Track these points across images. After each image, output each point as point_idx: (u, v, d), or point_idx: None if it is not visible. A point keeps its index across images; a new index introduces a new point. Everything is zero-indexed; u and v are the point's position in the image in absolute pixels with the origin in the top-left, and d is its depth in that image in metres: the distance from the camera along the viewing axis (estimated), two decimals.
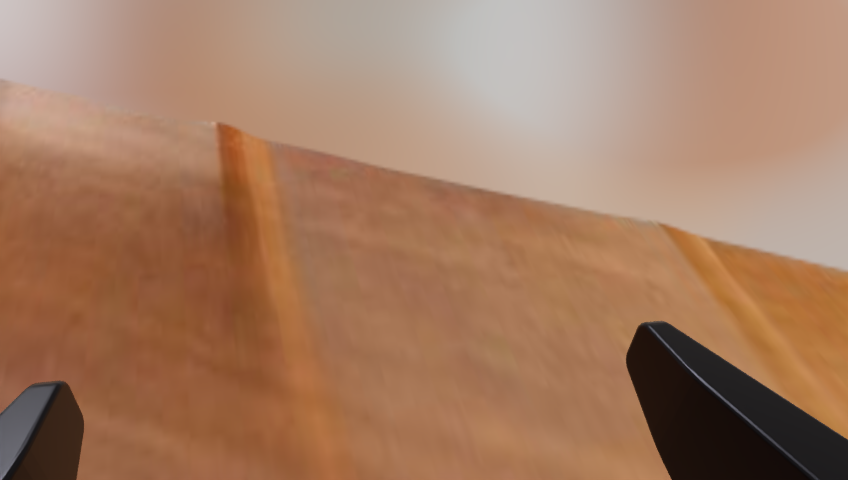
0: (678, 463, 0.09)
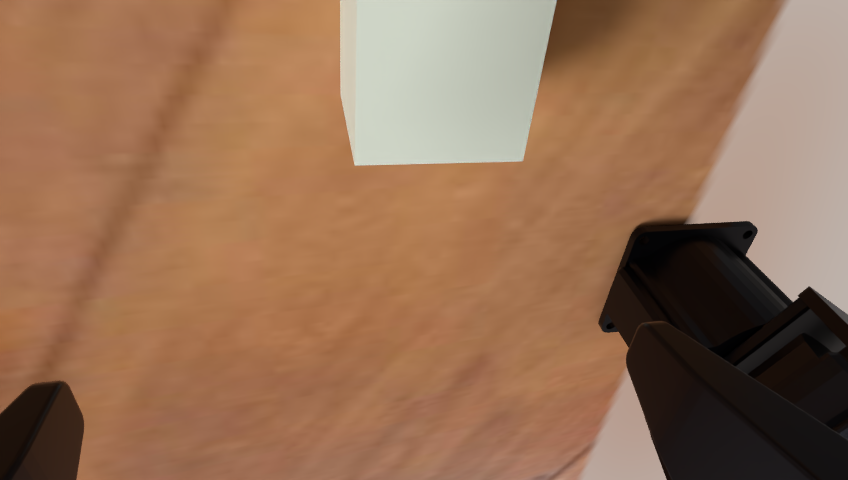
0: (678, 463, 0.09)
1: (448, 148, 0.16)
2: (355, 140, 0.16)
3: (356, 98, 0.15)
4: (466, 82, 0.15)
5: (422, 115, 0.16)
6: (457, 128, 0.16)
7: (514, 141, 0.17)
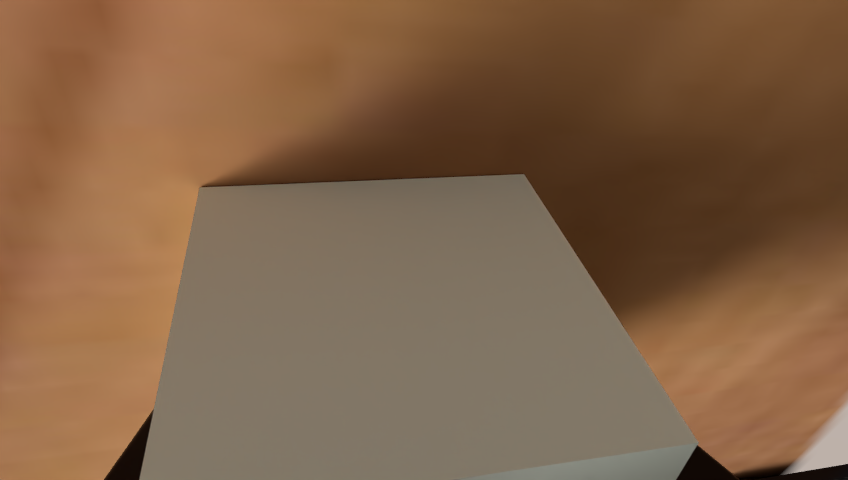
0: None
1: None
2: None
3: None
4: None
5: None
6: None
7: None
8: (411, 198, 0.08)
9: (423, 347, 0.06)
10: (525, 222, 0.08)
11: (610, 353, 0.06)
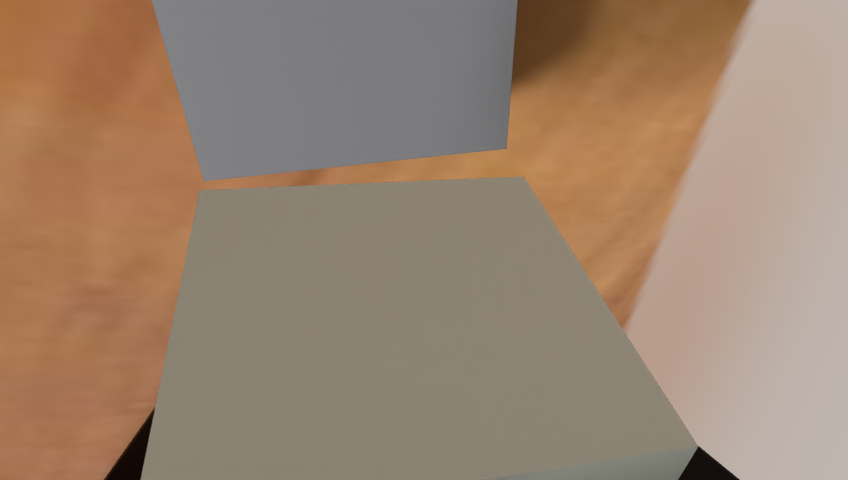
0: None
1: None
2: None
3: None
4: None
5: None
6: None
7: None
8: (411, 201, 0.08)
9: (422, 350, 0.06)
10: (525, 225, 0.08)
11: (610, 357, 0.06)
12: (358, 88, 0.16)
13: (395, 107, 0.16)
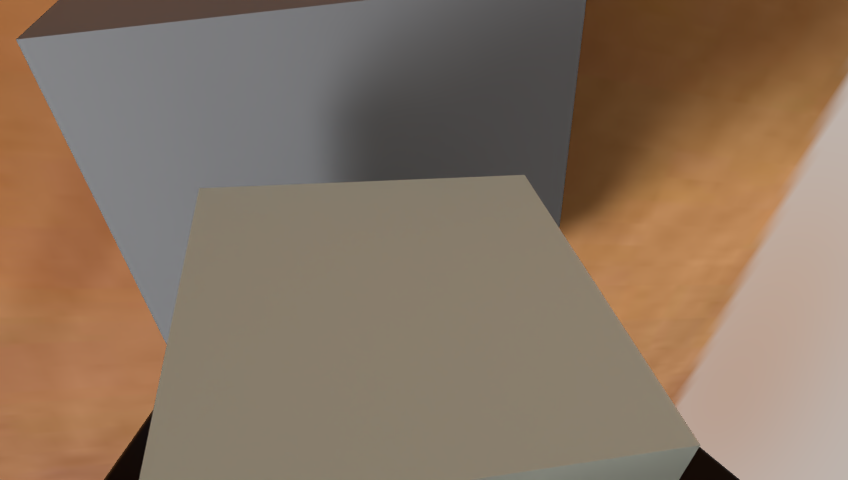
0: None
1: None
2: None
3: None
4: None
5: None
6: None
7: None
8: (411, 199, 0.08)
9: (423, 349, 0.06)
10: (526, 223, 0.08)
11: (611, 355, 0.06)
12: None
13: None
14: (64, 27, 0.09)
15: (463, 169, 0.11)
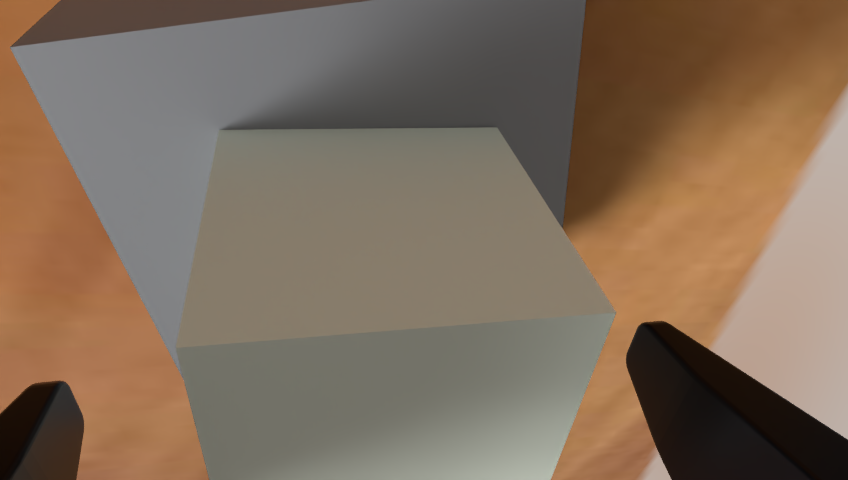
0: (678, 463, 0.09)
1: None
2: None
3: None
4: (429, 455, 0.08)
5: None
6: None
7: None
8: (399, 142, 0.10)
9: (402, 245, 0.08)
10: (494, 162, 0.10)
11: (554, 254, 0.08)
12: None
13: None
14: (58, 34, 0.09)
15: None
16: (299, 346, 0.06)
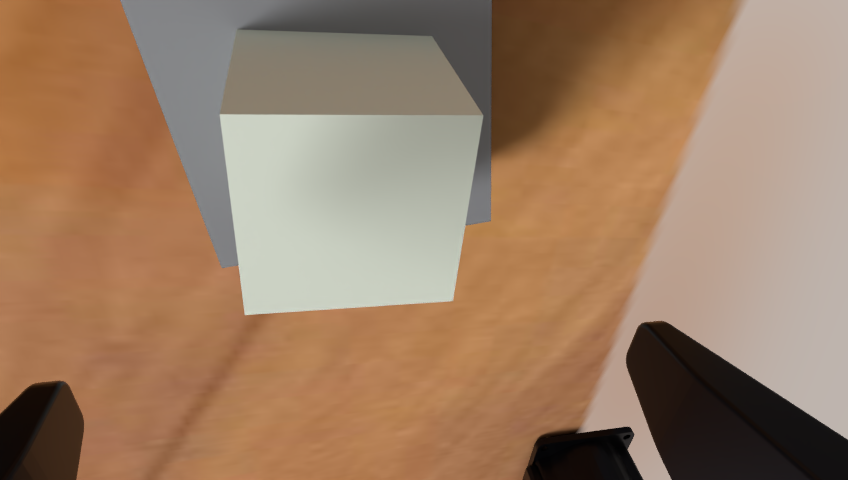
0: (678, 463, 0.09)
1: (360, 293, 0.14)
2: (242, 289, 0.13)
3: (237, 246, 0.12)
4: (374, 224, 0.12)
5: (322, 260, 0.13)
6: (368, 271, 0.13)
7: (440, 282, 0.14)
8: (360, 40, 0.14)
9: (356, 84, 0.12)
10: (425, 52, 0.14)
11: (453, 92, 0.12)
12: None
13: None
14: None
15: None
16: (290, 121, 0.11)
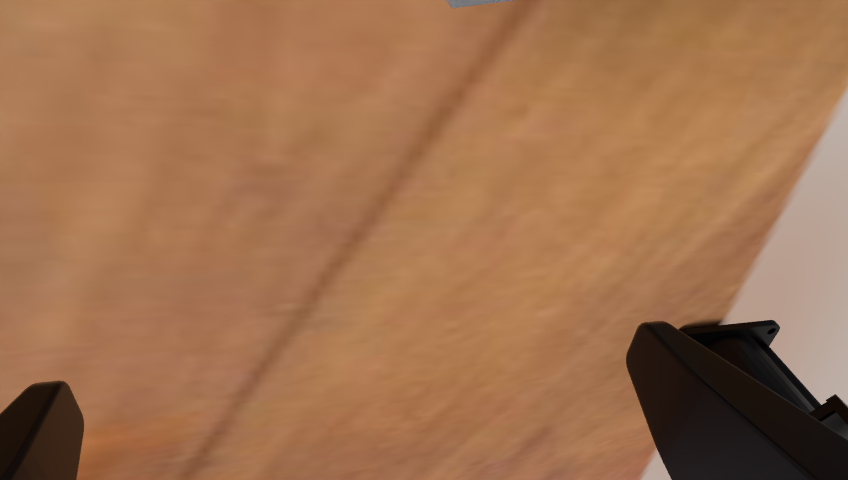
0: (678, 463, 0.09)
1: None
2: None
3: None
4: None
5: None
6: None
7: None
8: None
9: None
10: None
11: None
12: None
13: None
14: None
15: None
16: None
